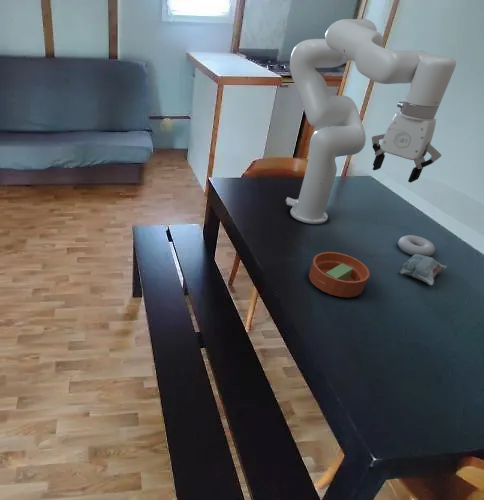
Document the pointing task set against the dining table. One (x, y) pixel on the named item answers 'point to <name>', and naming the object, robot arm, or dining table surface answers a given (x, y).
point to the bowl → (336, 286)
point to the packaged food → (422, 268)
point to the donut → (416, 245)
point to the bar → (340, 272)
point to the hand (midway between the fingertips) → (393, 175)
